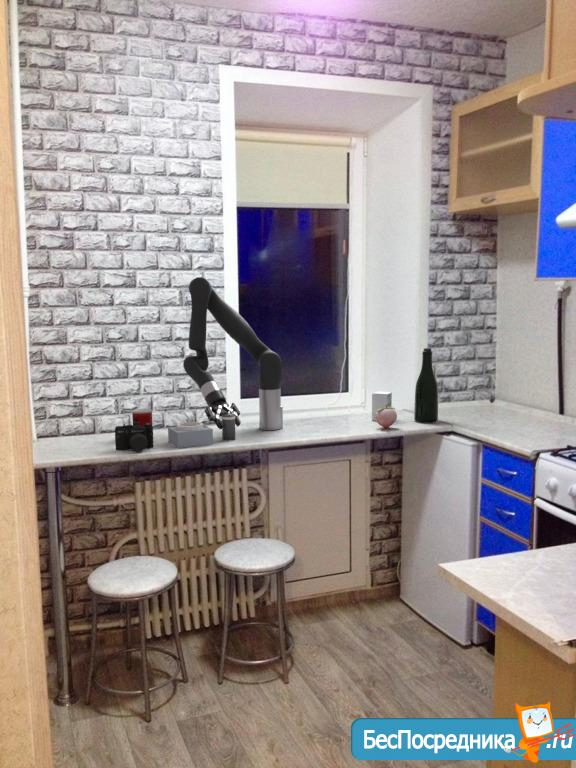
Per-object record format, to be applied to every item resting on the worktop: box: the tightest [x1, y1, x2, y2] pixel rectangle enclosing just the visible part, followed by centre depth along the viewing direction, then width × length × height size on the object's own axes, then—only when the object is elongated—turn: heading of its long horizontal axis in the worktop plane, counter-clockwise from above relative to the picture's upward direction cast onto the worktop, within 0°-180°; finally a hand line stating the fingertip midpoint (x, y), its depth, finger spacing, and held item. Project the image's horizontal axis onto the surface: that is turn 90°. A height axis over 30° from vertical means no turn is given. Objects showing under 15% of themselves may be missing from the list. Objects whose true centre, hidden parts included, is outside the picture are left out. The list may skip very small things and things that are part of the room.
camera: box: [114, 421, 154, 453], centre depth 250 cm, size 14×11×10 cm
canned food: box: [131, 408, 153, 427], centre depth 273 cm, size 8×8×11 cm
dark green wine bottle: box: [413, 347, 439, 424], centre depth 301 cm, size 10×10×33 cm
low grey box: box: [167, 421, 214, 449], centre depth 261 cm, size 14×12×8 cm
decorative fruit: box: [375, 405, 398, 429], centre depth 288 cm, size 9×8×10 cm
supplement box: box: [371, 391, 393, 422], centre depth 307 cm, size 7×7×13 cm
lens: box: [221, 412, 236, 441], centre depth 268 cm, size 5×5×10 cm
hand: (230, 426), depth 267 cm, fingers open, 8 cm apart
